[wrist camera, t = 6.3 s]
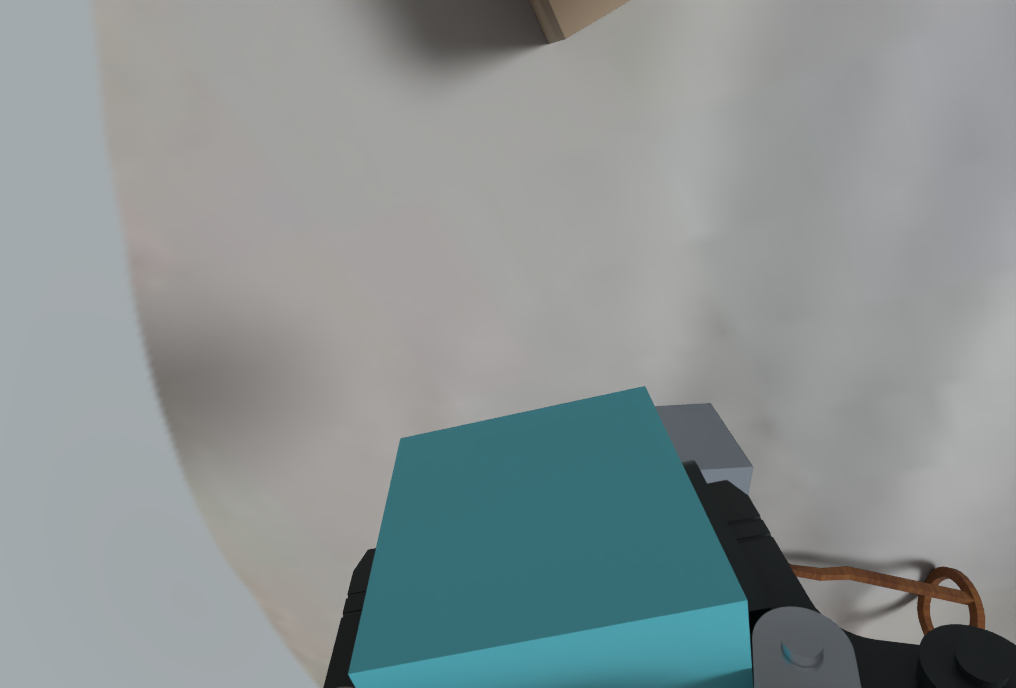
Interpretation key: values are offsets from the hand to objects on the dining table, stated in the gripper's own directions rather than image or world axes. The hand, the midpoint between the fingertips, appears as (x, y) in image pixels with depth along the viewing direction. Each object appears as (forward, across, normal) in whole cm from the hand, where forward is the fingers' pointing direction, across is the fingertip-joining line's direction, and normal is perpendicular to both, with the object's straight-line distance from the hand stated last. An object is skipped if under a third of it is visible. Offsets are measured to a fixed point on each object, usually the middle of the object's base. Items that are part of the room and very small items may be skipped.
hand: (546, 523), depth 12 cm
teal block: (0, 0, 0) cm, 0 cm away
